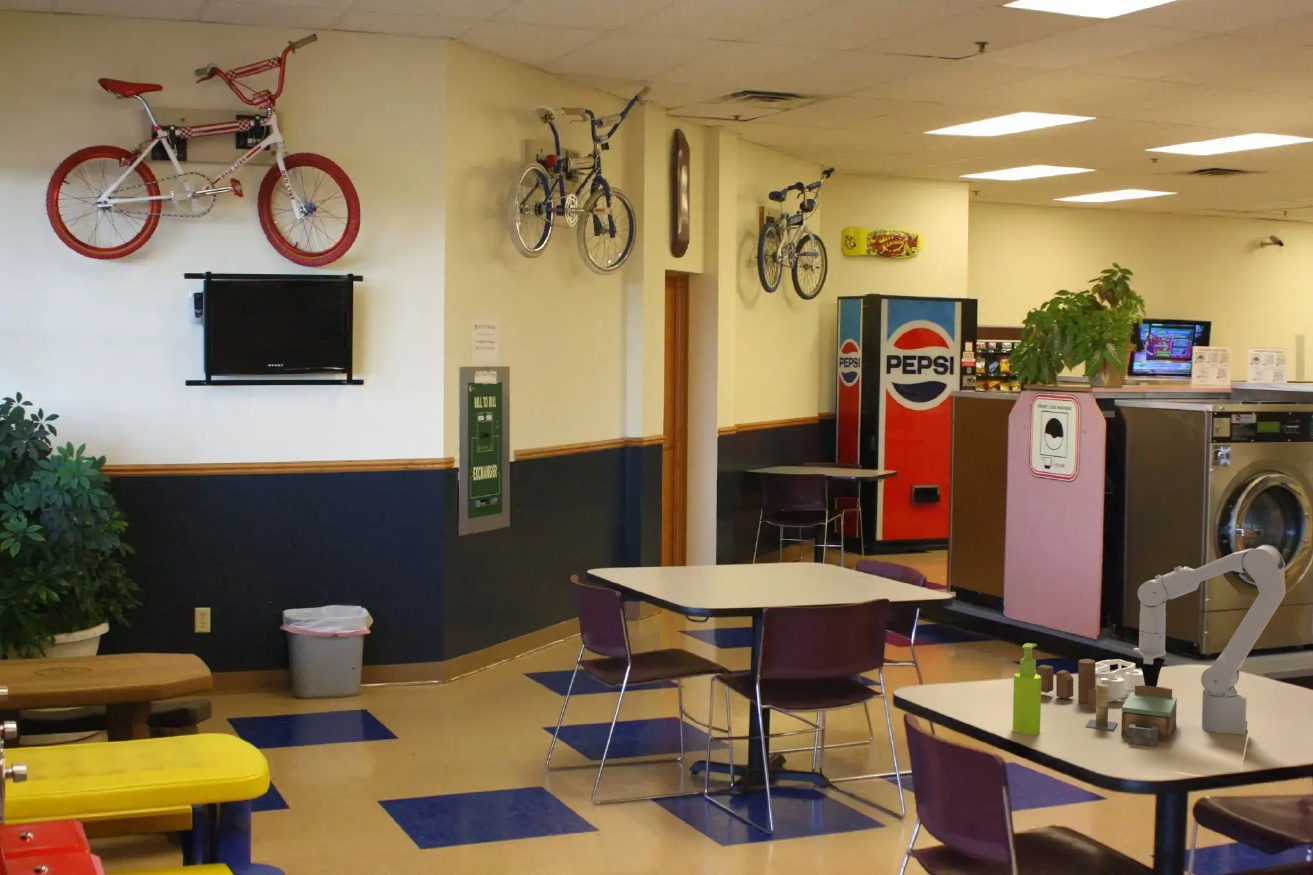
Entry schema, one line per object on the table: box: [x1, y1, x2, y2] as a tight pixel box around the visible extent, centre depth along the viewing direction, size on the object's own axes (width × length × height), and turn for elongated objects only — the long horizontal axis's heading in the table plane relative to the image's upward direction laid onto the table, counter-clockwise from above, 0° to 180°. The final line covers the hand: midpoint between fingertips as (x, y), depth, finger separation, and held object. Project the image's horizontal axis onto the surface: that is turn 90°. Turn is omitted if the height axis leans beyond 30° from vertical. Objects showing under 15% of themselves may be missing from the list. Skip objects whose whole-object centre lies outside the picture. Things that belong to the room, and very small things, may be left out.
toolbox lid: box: [1121, 685, 1178, 717], centre depth 298 cm, size 10×16×3 cm, turn 154°
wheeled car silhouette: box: [1095, 658, 1145, 703], centre depth 331 cm, size 20×11×7 cm, turn 133°
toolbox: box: [1120, 702, 1178, 747], centre depth 296 cm, size 10×22×5 cm, turn 154°
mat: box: [1085, 719, 1118, 732], centre depth 301 cm, size 6×7×1 cm
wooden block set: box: [1036, 658, 1096, 707], centre depth 323 cm, size 18×9×10 cm, turn 43°
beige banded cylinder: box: [1095, 683, 1109, 726], centre depth 301 cm, size 3×3×9 cm
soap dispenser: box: [1012, 642, 1042, 736], centre depth 294 cm, size 6×7×20 cm
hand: (1150, 689), depth 309 cm, fingers closed
